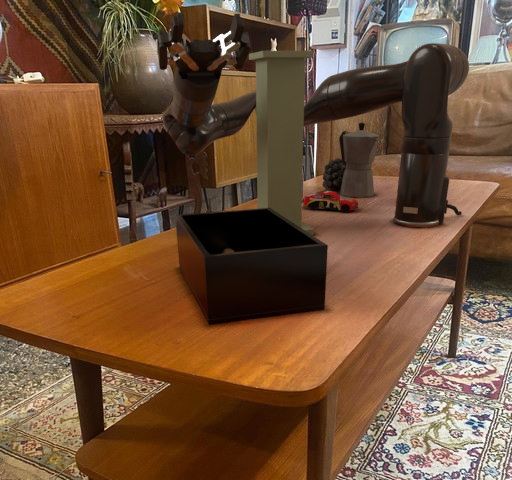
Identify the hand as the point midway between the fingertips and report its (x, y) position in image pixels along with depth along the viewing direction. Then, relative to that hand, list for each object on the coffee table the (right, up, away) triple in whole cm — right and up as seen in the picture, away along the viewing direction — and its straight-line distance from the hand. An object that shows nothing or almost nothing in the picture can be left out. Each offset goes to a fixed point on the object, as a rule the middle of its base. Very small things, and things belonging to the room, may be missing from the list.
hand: (209, 18), depth 74 cm
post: (+11, -24, +31) cm, 41 cm away
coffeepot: (+33, -7, +66) cm, 74 cm away
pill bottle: (+16, -10, +59) cm, 62 cm away
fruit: (+29, -4, +71) cm, 77 cm away
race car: (+25, -15, +50) cm, 57 cm away
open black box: (+5, -39, +2) cm, 39 cm away
